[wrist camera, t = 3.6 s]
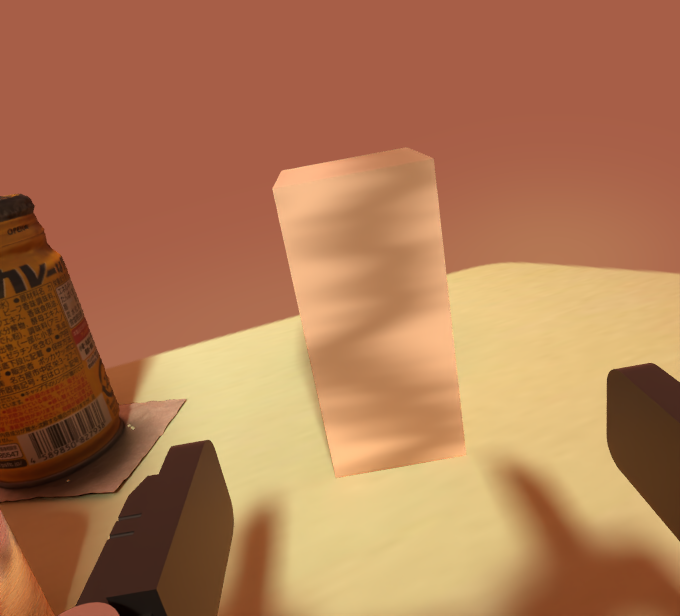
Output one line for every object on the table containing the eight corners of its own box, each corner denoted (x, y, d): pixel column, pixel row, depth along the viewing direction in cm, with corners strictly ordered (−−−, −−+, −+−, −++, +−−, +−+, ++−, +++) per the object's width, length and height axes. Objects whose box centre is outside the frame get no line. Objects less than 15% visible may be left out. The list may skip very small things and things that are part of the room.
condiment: (47, 414, 30) (-45, 201, 26) (187, 401, 28) (113, 173, 24) (-60, 508, 23) (-209, 241, 19) (116, 499, 21) (-3, 205, 17)
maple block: (335, 478, 20) (272, 188, 16) (331, 408, 25) (281, 170, 21) (466, 455, 20) (433, 158, 16) (437, 389, 25) (406, 147, 21)
